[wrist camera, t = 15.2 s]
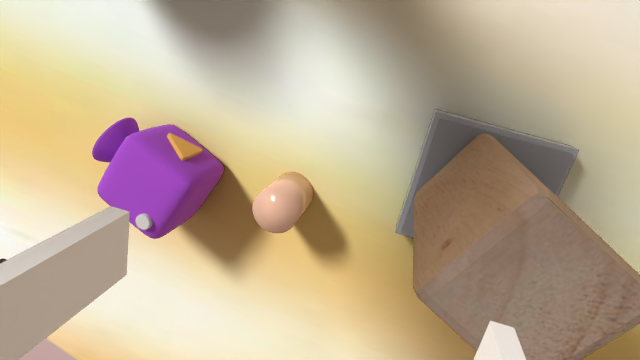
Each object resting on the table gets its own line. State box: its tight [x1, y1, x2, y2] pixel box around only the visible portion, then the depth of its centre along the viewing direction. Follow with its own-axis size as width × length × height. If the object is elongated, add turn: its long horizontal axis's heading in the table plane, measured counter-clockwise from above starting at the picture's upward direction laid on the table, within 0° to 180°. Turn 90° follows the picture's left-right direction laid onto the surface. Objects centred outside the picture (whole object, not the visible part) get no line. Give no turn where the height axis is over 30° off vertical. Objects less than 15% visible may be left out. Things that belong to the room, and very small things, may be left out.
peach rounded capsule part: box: [253, 172, 313, 233], centre depth 47 cm, size 5×5×7 cm
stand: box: [395, 109, 579, 238], centre depth 43 cm, size 14×14×3 cm
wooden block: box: [413, 133, 640, 360], centre depth 33 cm, size 10×10×20 cm
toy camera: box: [92, 118, 224, 239], centre depth 48 cm, size 11×14×10 cm
